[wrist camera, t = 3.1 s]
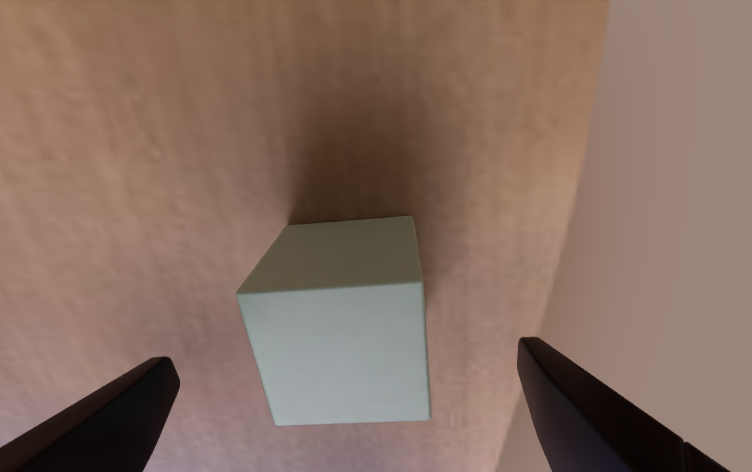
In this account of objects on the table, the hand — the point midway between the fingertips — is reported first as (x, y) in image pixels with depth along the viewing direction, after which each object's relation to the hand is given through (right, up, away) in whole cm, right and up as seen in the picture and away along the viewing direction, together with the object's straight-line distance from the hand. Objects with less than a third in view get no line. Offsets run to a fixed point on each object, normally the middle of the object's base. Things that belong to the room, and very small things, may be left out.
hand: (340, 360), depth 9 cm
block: (0, +2, +4) cm, 5 cm away
